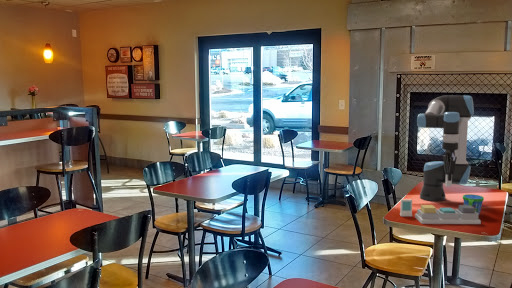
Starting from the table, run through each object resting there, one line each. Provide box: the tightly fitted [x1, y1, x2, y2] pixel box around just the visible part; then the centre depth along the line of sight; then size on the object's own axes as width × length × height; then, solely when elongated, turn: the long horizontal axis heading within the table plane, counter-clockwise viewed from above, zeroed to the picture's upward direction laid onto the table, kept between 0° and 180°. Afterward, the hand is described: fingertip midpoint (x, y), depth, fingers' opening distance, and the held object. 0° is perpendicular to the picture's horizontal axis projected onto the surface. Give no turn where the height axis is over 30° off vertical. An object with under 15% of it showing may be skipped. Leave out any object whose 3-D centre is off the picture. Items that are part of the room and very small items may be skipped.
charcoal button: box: [458, 204, 475, 213], centre depth 248 cm, size 6×6×4 cm
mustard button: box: [420, 204, 437, 213], centre depth 249 cm, size 6×6×4 cm
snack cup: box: [462, 194, 485, 215], centre depth 260 cm, size 16×10×10 cm
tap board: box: [414, 208, 482, 225], centre depth 249 cm, size 12×30×5 cm, turn 87°
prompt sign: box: [399, 198, 413, 217], centre depth 258 cm, size 3×6×9 cm, turn 87°
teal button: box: [439, 207, 455, 213], centre depth 249 cm, size 6×6×4 cm
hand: (448, 186), depth 247 cm, fingers closed
